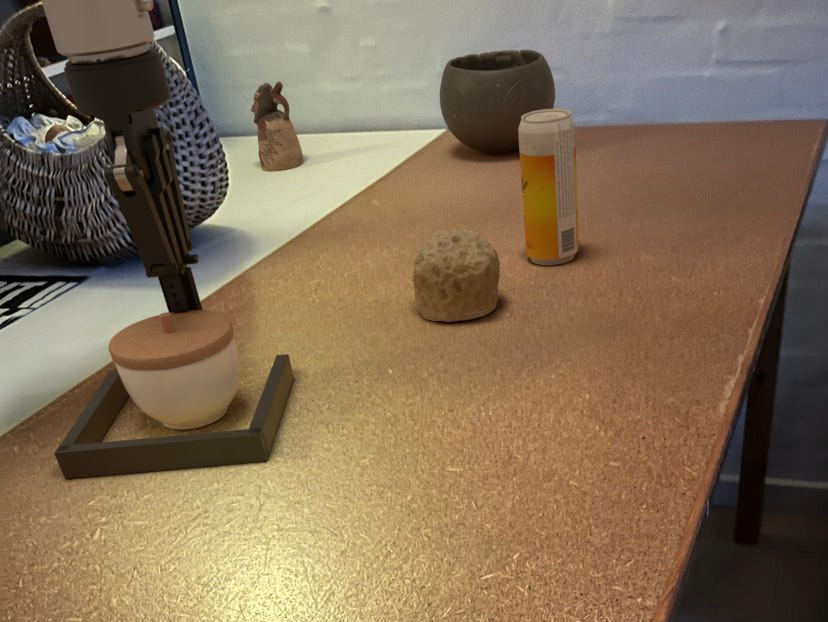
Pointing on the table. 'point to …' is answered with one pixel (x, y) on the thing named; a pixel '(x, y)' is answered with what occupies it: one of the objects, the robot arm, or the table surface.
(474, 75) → the bowl
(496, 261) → the coral
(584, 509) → the table surface
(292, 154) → the figurine
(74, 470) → the frame
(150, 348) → the trinket box
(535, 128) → the beer can
